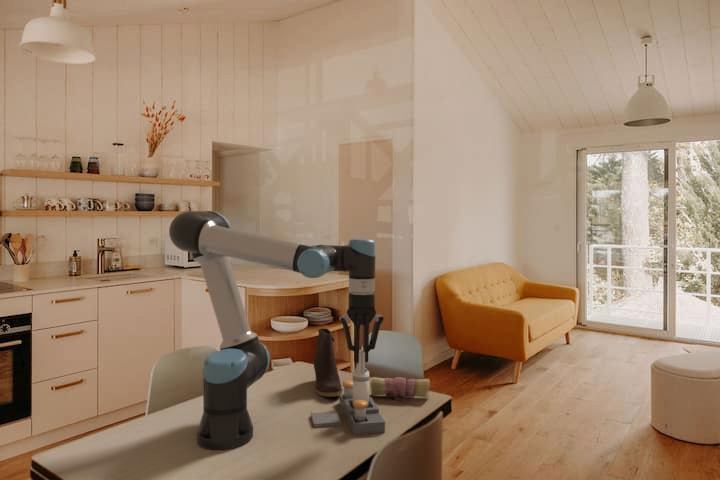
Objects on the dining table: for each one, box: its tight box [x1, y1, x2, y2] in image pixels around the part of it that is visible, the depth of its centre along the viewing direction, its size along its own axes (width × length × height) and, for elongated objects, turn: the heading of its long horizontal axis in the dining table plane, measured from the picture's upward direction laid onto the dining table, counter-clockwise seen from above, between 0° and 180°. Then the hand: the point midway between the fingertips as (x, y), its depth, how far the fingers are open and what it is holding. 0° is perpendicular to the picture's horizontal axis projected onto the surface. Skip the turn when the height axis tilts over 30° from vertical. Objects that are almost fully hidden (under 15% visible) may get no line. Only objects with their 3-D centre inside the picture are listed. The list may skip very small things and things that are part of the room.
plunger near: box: [353, 400, 368, 421], centre depth 145 cm, size 4×4×5 cm
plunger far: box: [342, 380, 353, 399], centre depth 161 cm, size 4×4×5 cm
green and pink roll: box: [370, 376, 431, 401], centre depth 170 cm, size 8×8×20 cm
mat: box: [310, 411, 342, 428], centre depth 150 cm, size 8×8×1 cm
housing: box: [339, 393, 386, 436], centre depth 154 cm, size 9×24×4 cm, turn 12°
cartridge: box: [352, 367, 371, 409], centre depth 153 cm, size 5×5×15 cm
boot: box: [313, 328, 343, 398], centre depth 177 cm, size 9×24×20 cm, turn 17°
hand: (360, 373), depth 144 cm, fingers closed
